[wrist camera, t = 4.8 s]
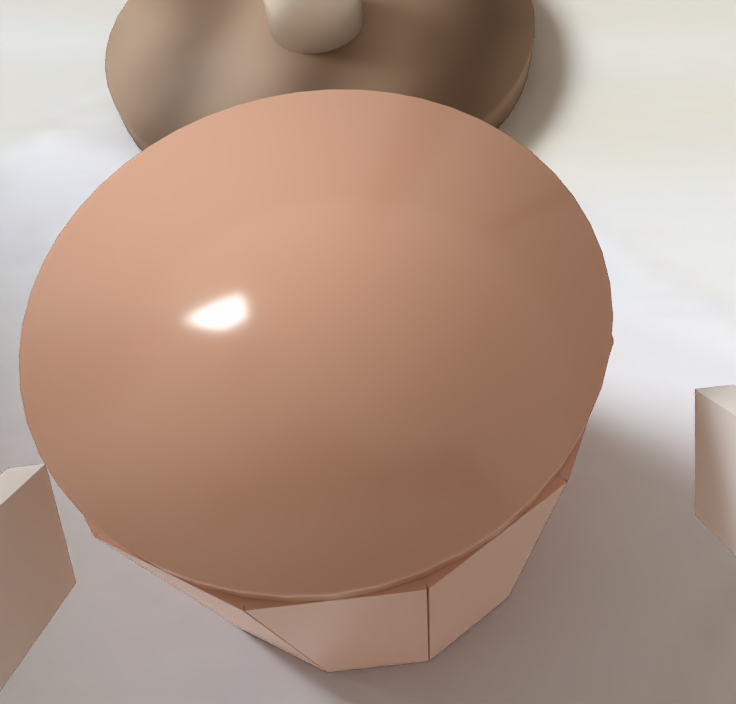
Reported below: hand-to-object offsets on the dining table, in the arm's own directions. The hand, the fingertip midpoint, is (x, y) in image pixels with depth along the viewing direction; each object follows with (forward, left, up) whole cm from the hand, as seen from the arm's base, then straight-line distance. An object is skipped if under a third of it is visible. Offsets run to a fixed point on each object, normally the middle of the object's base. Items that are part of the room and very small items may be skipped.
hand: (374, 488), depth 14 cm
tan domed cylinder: (-1, +3, -8) cm, 9 cm away
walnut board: (-1, +25, -8) cm, 26 cm away
